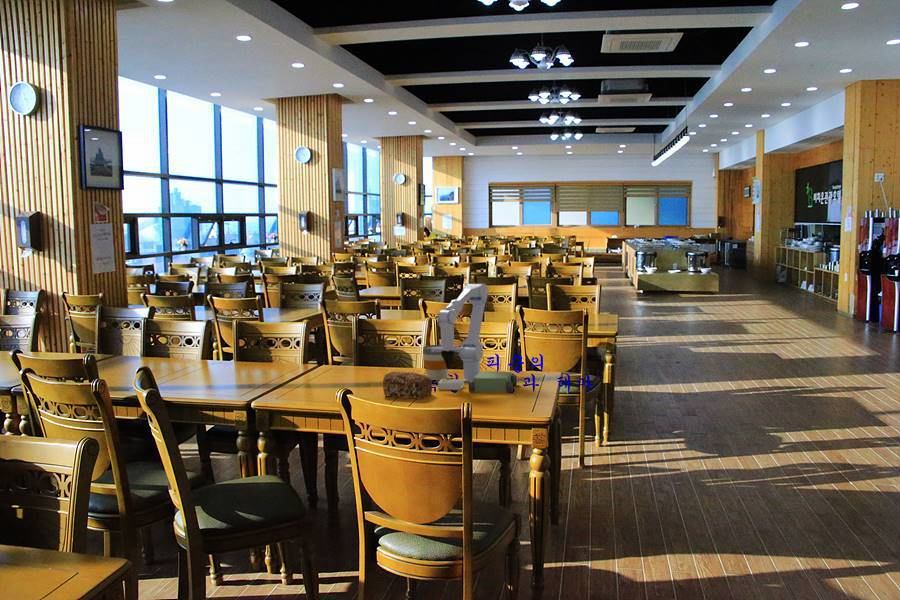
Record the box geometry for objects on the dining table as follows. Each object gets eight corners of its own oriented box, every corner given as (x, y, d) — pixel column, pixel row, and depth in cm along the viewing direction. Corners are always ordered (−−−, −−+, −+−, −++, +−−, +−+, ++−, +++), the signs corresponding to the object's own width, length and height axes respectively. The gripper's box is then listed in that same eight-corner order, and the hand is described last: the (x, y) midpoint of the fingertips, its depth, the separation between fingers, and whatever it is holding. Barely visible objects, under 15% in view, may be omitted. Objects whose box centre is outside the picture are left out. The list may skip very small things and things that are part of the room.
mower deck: (476, 384, 338) (476, 371, 338) (517, 384, 334) (516, 371, 334) (468, 393, 321) (468, 379, 321) (511, 393, 317) (510, 379, 317)
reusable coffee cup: (452, 375, 361) (450, 344, 359) (449, 381, 348) (448, 348, 347) (425, 376, 362) (424, 344, 360) (422, 381, 349) (420, 349, 348)
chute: (442, 386, 337) (441, 379, 336) (464, 386, 334) (464, 379, 334) (438, 389, 330) (437, 382, 329) (460, 389, 328) (460, 382, 327)
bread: (382, 397, 321) (381, 373, 321) (396, 391, 331) (395, 369, 330) (420, 400, 312) (419, 376, 311) (433, 395, 321) (432, 371, 320)
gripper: (429, 339, 329) (430, 370, 331) (462, 338, 326) (463, 370, 327) (432, 336, 336) (434, 367, 337) (465, 336, 333) (466, 367, 334)
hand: (448, 368), depth 333 cm, fingers closed
